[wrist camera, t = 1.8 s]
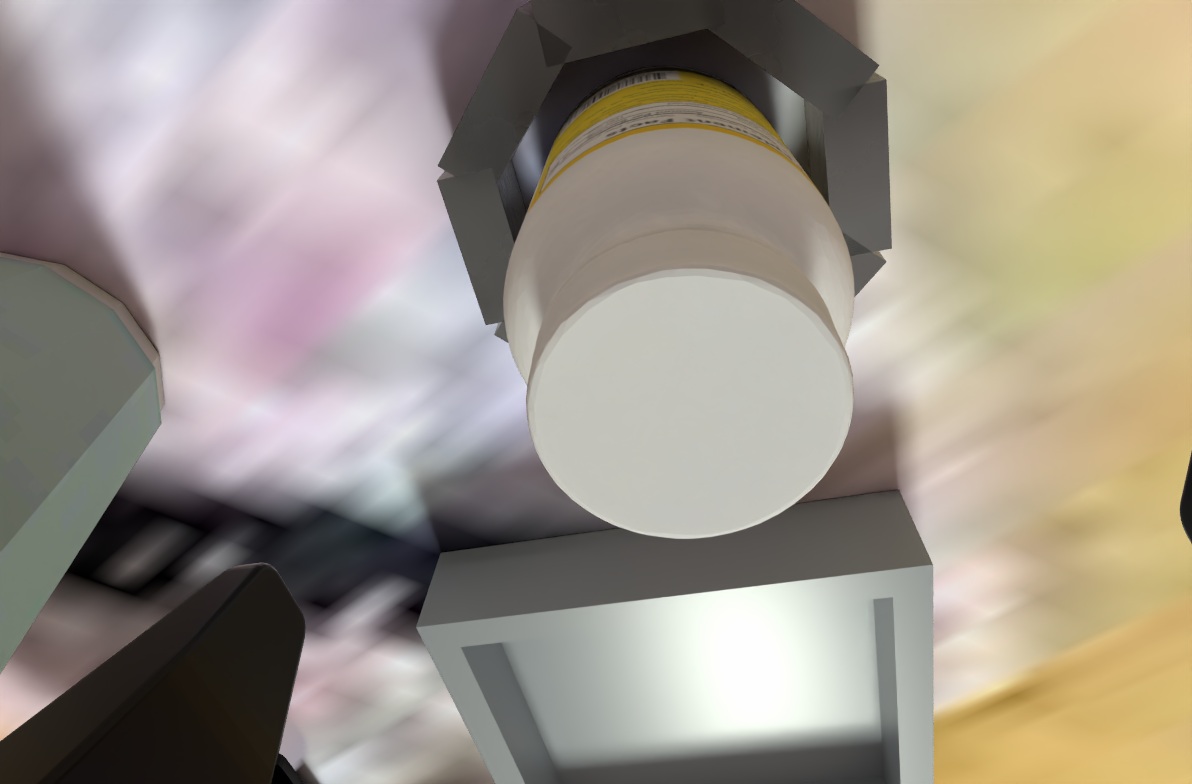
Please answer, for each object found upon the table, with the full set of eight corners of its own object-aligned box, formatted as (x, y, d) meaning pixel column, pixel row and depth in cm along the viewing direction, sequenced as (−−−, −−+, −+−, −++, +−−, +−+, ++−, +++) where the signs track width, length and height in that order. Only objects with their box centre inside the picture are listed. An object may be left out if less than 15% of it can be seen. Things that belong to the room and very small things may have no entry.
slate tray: (552, 802, 31) (544, 881, 28) (440, 552, 24) (416, 627, 21) (907, 774, 29) (933, 857, 26) (898, 489, 22) (932, 564, 19)
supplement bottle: (712, 325, 19) (764, 628, 11) (514, 241, 18) (405, 500, 10) (829, 125, 17) (1017, 322, 8) (603, 14, 16) (557, 109, 7)
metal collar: (530, 383, 20) (519, 424, 19) (415, 24, 16) (387, 35, 14) (872, 323, 19) (895, 362, 17) (852, -91, 14) (880, -94, 13)
